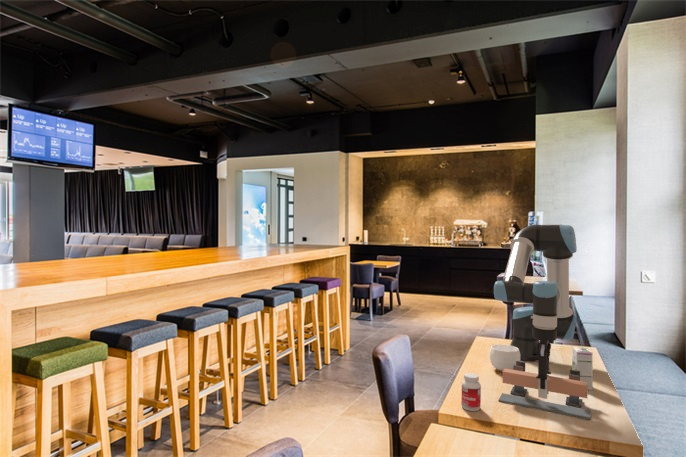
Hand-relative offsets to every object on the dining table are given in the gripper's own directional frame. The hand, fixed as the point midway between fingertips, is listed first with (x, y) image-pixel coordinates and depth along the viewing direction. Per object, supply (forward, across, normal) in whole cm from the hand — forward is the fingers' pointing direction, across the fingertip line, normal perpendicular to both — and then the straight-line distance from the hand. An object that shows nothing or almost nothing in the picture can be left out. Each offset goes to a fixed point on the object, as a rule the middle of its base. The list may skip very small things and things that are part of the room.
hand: (543, 395), depth 147 cm
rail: (-2, 0, 0) cm, 2 cm away
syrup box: (+4, -28, +11) cm, 30 cm away
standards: (+4, -9, 0) cm, 10 cm away
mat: (+4, 0, 0) cm, 4 cm away
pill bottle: (+4, +14, -21) cm, 26 cm away
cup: (+4, -32, -18) cm, 37 cm away
